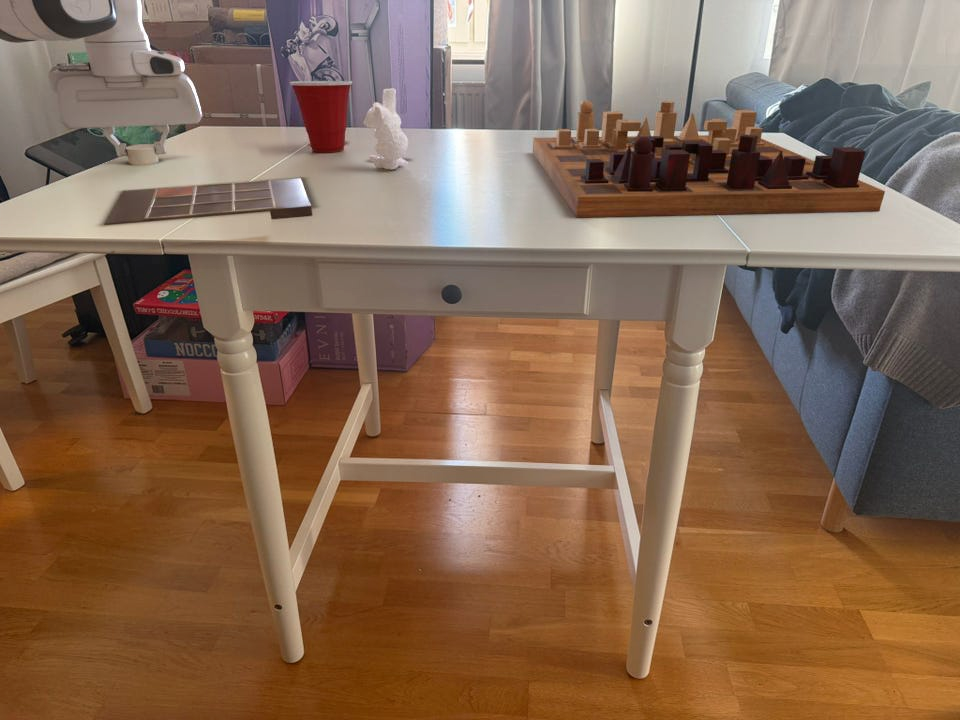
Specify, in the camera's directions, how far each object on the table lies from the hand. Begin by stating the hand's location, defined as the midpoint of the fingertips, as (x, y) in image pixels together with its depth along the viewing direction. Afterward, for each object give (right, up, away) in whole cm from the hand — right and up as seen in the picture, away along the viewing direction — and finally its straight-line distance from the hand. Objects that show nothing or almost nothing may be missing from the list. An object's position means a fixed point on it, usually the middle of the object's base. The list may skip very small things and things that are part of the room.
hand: (142, 154), depth 109 cm
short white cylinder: (0, -2, +1) cm, 2 cm away
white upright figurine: (+40, -2, +1) cm, 40 cm away
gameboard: (+86, -5, -5) cm, 86 cm away
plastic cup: (+27, +5, +14) cm, 31 cm away
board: (+19, -13, -19) cm, 30 cm away
